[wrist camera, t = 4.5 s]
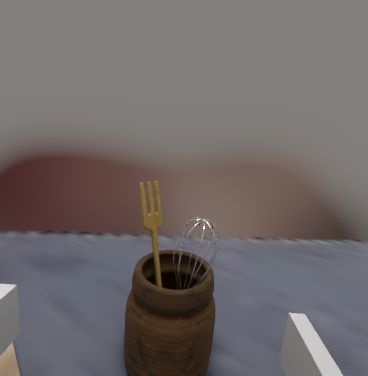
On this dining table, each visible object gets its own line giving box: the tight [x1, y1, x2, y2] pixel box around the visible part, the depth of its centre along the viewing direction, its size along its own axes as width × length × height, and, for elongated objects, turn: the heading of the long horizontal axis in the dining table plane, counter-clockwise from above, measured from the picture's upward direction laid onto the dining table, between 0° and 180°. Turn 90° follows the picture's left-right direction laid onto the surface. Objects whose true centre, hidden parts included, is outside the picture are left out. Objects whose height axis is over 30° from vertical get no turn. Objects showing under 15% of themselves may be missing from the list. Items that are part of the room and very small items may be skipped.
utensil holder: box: [124, 181, 220, 376], centre depth 15 cm, size 6×6×12 cm
